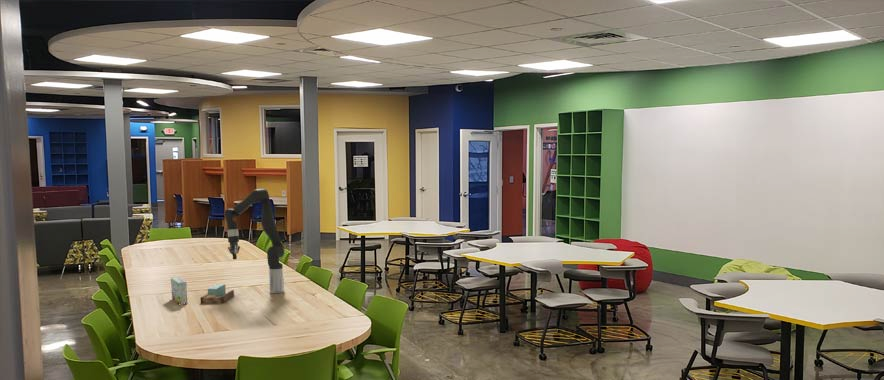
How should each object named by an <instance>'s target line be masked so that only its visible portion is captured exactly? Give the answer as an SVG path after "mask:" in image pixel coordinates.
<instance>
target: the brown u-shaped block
mask: <svg viewBox="0 0 884 380" xmlns="http://www.w3.org/2000/svg"><path fill="white" fill-rule="evenodd" d="M206 296H208V292H207V293H206V294H204V295H202V296H201V297H200V304H225V303H226V302H227V301H229V300H231V299H232V298H233V297H235V290H229V291H228V292H226V294H225V295H224V296H222V297H206Z"/></svg>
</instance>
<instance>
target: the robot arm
mask: <svg viewBox="0 0 884 380" xmlns="http://www.w3.org/2000/svg"><path fill="white" fill-rule="evenodd" d="M255 203H261V207H262V211H261V212H262V213H261V218H260V222H261V226H262V230H263V231H264V233H265V235H266V236H267V237H268V238H269V240H270V242H271V246H269V247H268V249H267V252H266V255H267V259H266V260H267V264H268V268H269V269H268V275H269V277H268V278H269V281H268V282H269V293H270V294H282V293H284V291H285V282H284V281H285V278H284V277H283V276H284V271H283V263H281V262H280V258H282V257H284V256H285V248H284V245H283V243H282V240H281V239H280V234H279V231H278V229H277V228H278V227H277V224H276V221H275V217H274V213H273V211H272V206H271V199H270V194H269V192H268V190H267V189H266V188H258V189H254V190H252V191H251V192H250V193H249V194H248V195H247V196H246V197H245V198H244V199H243V200H240V202H239V203H237V204H235V205H234V206H233V208H226V209H225V210H224V214H223V215H224V219H225V222H226V225H227V243H229V246H228V247H227V249H228V252H229V253H230V255H232V260H237V257H238V256H237V254H238V253H239V252H240V248H241V246H239V242H240V236H239V234H240V233H239V229H238V226H239V225H238V224H239V223H238V222H237V221H235V220H234V219H237V218H239V217H240V216H241V214H242V213H244V212H245V211H247V210H248V209H249V208H250V206H251V205H254V204H255Z"/></svg>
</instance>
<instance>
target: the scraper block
mask: <svg viewBox="0 0 884 380" xmlns="http://www.w3.org/2000/svg"><path fill="white" fill-rule="evenodd" d="M226 291H227V290H226V284H223V283H221V284H220V283H219V284H215V285H213V286H210V287H209V288H207V293H208V295H217V297H222V296H224V295H225V294H227V292H226Z"/></svg>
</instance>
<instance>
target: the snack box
mask: <svg viewBox="0 0 884 380" xmlns="http://www.w3.org/2000/svg"><path fill="white" fill-rule="evenodd" d="M170 284H171V286H170V287H171V299H172V300H173V301H174V300H175V301H176V302H177V304H178V303H179V304H183V305H185V304H184V303H187V304H188V290H187V281H185V280H184V279H183V278H181V277H180V276H174V277H171V278H170ZM175 301H174V302H175ZM176 302H175V303H176ZM179 304H178V305H179Z"/></svg>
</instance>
